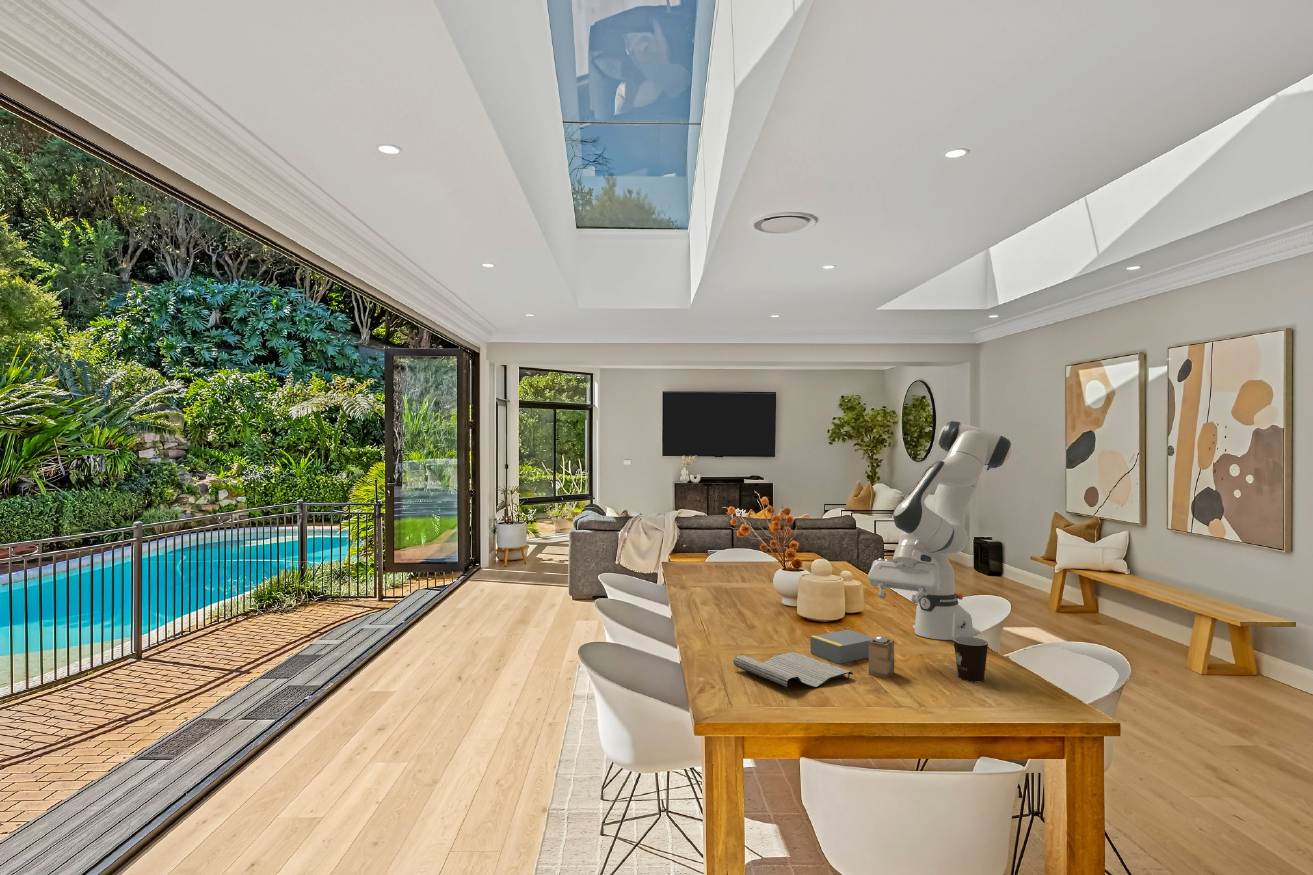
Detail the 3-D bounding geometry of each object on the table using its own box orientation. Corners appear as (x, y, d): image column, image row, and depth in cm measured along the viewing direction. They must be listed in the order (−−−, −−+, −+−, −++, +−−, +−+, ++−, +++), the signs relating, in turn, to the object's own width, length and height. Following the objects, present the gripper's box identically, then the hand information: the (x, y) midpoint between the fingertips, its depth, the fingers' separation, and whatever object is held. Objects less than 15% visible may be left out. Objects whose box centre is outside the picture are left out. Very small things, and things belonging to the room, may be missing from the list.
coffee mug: (990, 684, 178) (990, 646, 178) (955, 681, 181) (954, 643, 181) (984, 671, 189) (984, 635, 190) (951, 668, 192) (950, 632, 192)
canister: (880, 642, 190) (880, 635, 190) (889, 645, 187) (889, 637, 187) (872, 643, 189) (872, 636, 189) (881, 646, 186) (881, 639, 186)
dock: (848, 645, 215) (848, 628, 215) (878, 655, 204) (877, 637, 204) (810, 653, 207) (810, 636, 207) (839, 663, 196) (839, 645, 196)
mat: (854, 681, 183) (853, 663, 183) (787, 697, 171) (786, 678, 171) (795, 658, 203) (795, 642, 203) (732, 671, 191) (732, 654, 191)
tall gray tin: (876, 668, 192) (876, 636, 192) (894, 672, 189) (894, 640, 189) (868, 674, 187) (868, 641, 187) (886, 678, 184) (886, 644, 184)
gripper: (871, 551, 209) (860, 588, 202) (941, 558, 197) (931, 598, 189) (876, 564, 213) (865, 600, 205) (945, 571, 201) (936, 611, 193)
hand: (897, 599), depth 197 cm, fingers open, 8 cm apart
